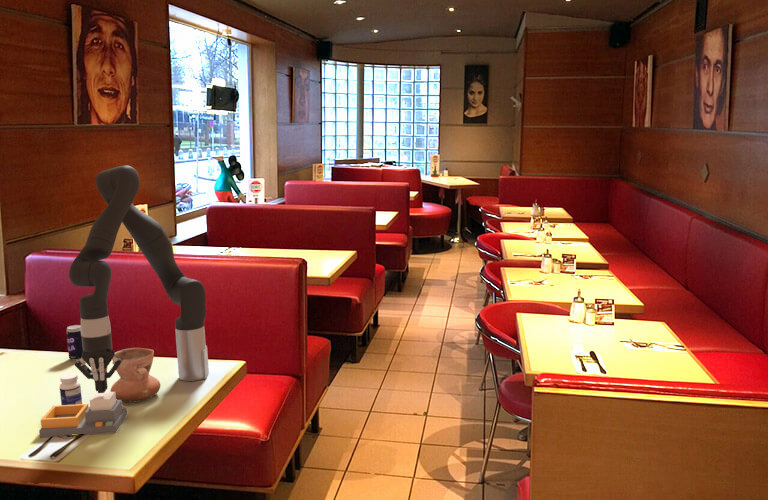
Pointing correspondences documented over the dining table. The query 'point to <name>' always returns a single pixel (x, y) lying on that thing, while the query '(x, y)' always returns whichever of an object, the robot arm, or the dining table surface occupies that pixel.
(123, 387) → the ceramic jug
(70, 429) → the grey and orange tray
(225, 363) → the dining table surface
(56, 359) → the dining table surface
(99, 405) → the button
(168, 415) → the dining table surface
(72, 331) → the beverage can
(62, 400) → the pill bottle
